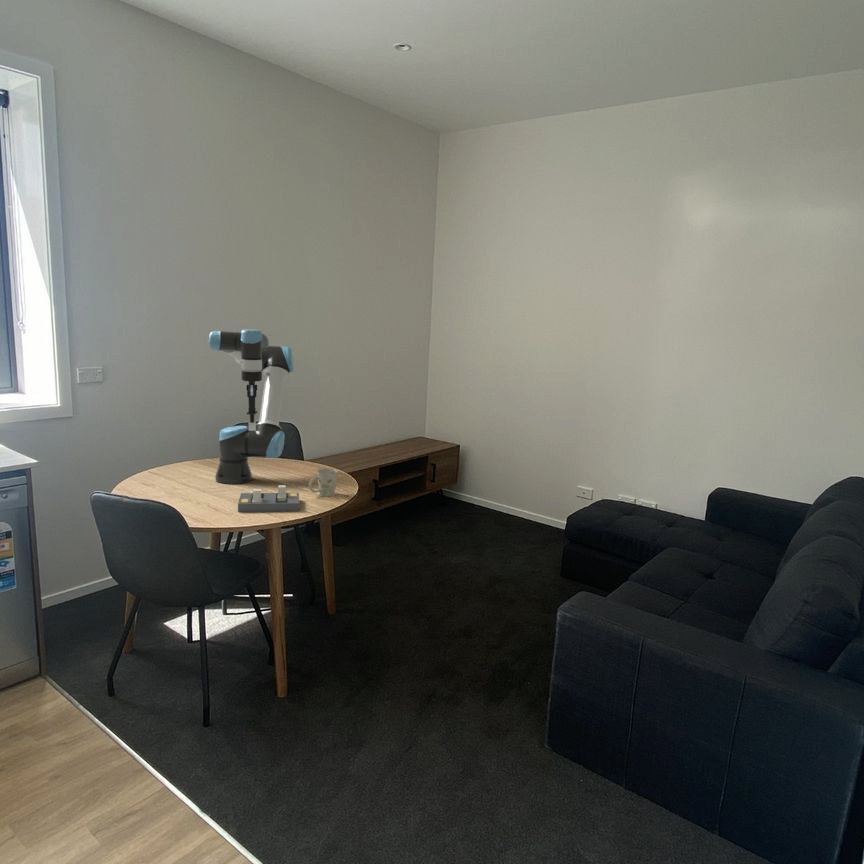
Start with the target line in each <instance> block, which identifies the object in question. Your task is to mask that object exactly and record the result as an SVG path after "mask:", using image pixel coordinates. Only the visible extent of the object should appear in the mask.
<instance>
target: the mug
mask: <svg viewBox="0 0 864 864" xmlns="http://www.w3.org/2000/svg"><path fill="white" fill-rule="evenodd" d="M316 475H317V476H313V477H312V478H311V479H310V481H309V482H308V487H309V490H310V491H311V492H312V493H319V496H320V497H328V498H329V497H334V495H335V492H336V486H337V479H338V470H337V469H334V468H320V469H318V470H317V471H316ZM316 480H317V484H318V489H313V483H314V481H316Z"/></svg>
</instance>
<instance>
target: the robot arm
mask: <svg viewBox="0 0 864 864" xmlns="http://www.w3.org/2000/svg"><path fill="white" fill-rule="evenodd" d="M208 336H209V337H208V346H209V348H210V349H211V350H212V351H218V352H219V351H223V352H224V353H226V354H227V355H229V356H230V357H232V358H234V360H235V362H236V363H237V364H239V365H240V366H241V370H242V371H241V380H242V381H243V382H248V384H246V392H247V393H246V394H247V396H246V397H248V411H247V412H246V415H248V419H247V420H248V426H246V425H234V426H233V425H232V426H228V427H225V428H222V429H220V431H219V438H218V443H219V445H218V447H219V449H218V450H219V451H218V452H219V463H218V467H217V469H216V472H215V477H214V478H215V482H217V483H221V484H227V485H239V484H245V483H248V482H251V481H252V479H253V473H252V471H251V467H250V465H249V460H248V459H249V458H265V459H274V458H275V459H276V458H279V457H280V456H281V455H282V452H283V450H284V445H285V437H286V435H285V432H284V431H283V428H282V427H281V426H280V419H281V418H280V417H281V411H282V404H283V396H284V389H285V380H286V379H287V378H289V375H290V373H293V372H294V355H293V352H292V351H293V350H292V349H291V348H290V347H288V346H283V345H279V346H278V345H270V340H269V337H268V336H267V335H266V334H265V333H262V331H261V330H260V329H253V328H251V329H250V328H249V329H248V328H247V329H242V330H241V331H239V332H237V331H236V332H235V331H221V330H214V331H213V330H212V331H211V332H210V333H209V335H208ZM263 376H264V377H265V378H264V383H263V384H264V385H263V392H262V398H261V404H260V411H259V418H258V420H259V421H258V422H256V421H257V419H256V418H257V417H256V416H257V415H256V414H258V411H256V410H257V408H256V398H257V391H258V385H257V384H256V382H261V381H262V380H263Z"/></svg>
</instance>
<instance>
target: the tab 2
mask: <svg viewBox="0 0 864 864" xmlns="http://www.w3.org/2000/svg"><path fill="white" fill-rule="evenodd" d="M286 488H287V487H286V484H285V485H283V484H282V485H280V484H279V485H278V487H277V493H278V498H277V502H278V501H286V493H287V492H286V491H287V489H286Z"/></svg>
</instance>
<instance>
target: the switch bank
mask: <svg viewBox="0 0 864 864" xmlns="http://www.w3.org/2000/svg"><path fill="white" fill-rule="evenodd" d="M261 498H262V503H252V501H253V492H241V493H240V495H239V499H238V503H237V512H239V513H241V512H244V513H247V512H250V513H251V512H252V513H253V512H254V513H255V512H256V513H257V512H299V511H300V492H286V501H278V502H277V498H278V492H261Z"/></svg>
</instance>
